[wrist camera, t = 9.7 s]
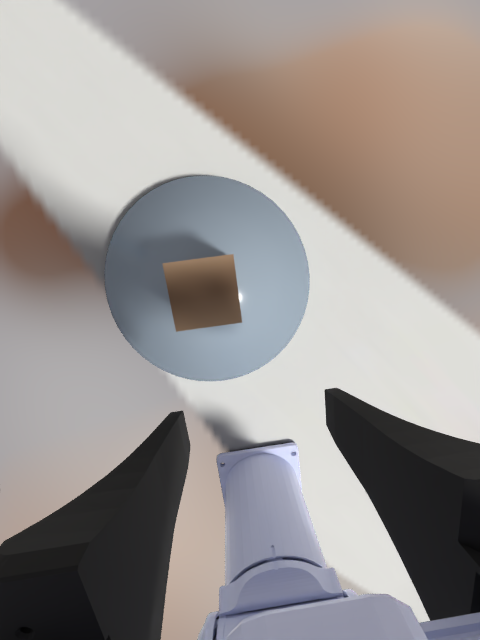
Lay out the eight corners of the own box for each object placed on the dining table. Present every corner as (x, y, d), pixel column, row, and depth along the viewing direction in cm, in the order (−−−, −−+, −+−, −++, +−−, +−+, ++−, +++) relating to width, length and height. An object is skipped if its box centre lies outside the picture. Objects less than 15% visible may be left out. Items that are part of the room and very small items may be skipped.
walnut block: (238, 308, 19) (242, 322, 14) (188, 314, 19) (175, 331, 14) (231, 257, 18) (233, 254, 13) (179, 264, 18) (162, 263, 13)
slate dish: (311, 362, 21) (314, 367, 20) (136, 387, 21) (131, 393, 20) (298, 168, 18) (302, 162, 17) (86, 194, 17) (78, 190, 16)
